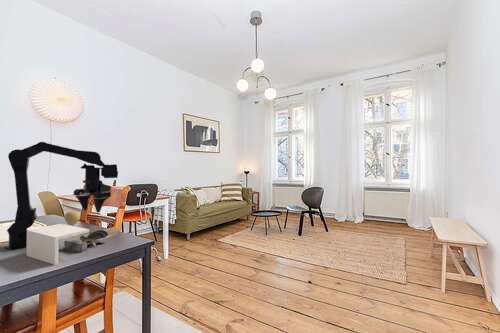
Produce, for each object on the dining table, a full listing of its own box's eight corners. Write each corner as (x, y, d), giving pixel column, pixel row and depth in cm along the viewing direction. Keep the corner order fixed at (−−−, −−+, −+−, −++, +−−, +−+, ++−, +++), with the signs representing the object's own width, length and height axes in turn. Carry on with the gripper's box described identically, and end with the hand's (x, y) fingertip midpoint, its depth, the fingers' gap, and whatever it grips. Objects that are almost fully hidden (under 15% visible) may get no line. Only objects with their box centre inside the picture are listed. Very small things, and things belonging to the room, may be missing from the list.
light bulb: (71, 232, 120) (72, 212, 120) (61, 231, 121) (61, 211, 121) (83, 229, 126) (83, 210, 126) (72, 228, 128) (73, 209, 128)
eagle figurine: (90, 248, 97) (111, 238, 105) (81, 232, 98) (103, 224, 105) (82, 254, 100) (103, 244, 108) (74, 239, 101) (95, 230, 109)
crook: (64, 249, 99) (64, 240, 99) (114, 233, 121) (114, 226, 121) (82, 252, 95) (82, 243, 95) (130, 236, 118) (130, 229, 118)
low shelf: (26, 255, 91) (26, 230, 91) (60, 246, 101) (61, 223, 101) (54, 264, 83) (55, 237, 83) (88, 253, 94) (89, 229, 94)
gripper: (121, 178, 118) (120, 210, 118) (96, 176, 126) (95, 206, 126) (99, 179, 108) (98, 214, 108) (73, 177, 115) (72, 210, 116)
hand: (91, 211), depth 115 cm, fingers open, 9 cm apart
